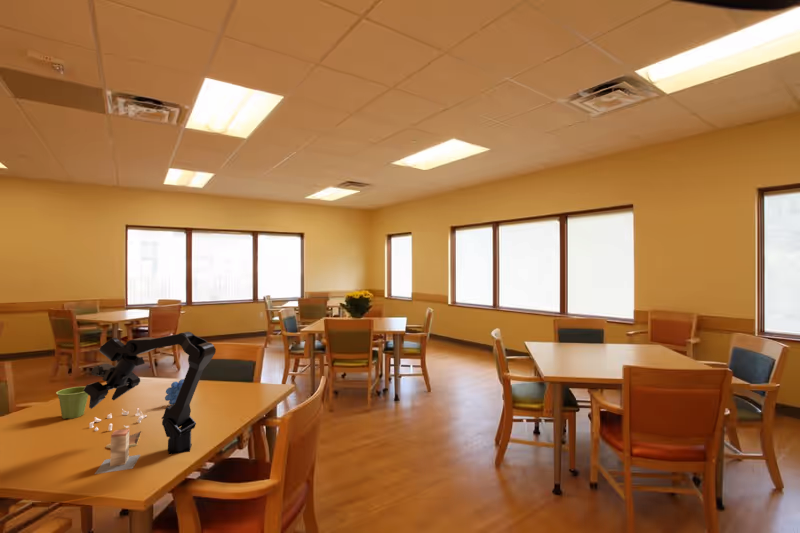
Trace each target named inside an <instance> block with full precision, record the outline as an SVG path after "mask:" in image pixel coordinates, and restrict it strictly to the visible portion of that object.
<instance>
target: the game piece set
mask: <svg viewBox="0 0 800 533" xmlns="http://www.w3.org/2000/svg"><path fill="white" fill-rule="evenodd" d="M121 410H122V412H121V415H123V416H127V415H129V414H130V413H129V412H130V410H127V411H126V410H124V408H121ZM139 410H140V408H139V407H137V408H136V413H134V416H135V417H138V418H137V420H136V422H137V423H139V424H140V423H141V422H142V420H143V419H144V418H147V416H148V415H147V414H143V412H142V410H140V411H139ZM93 418H94V420H93V421H92V422H89V424H88V425H89V427H88V429H92V428H93V429H94V432H98V431H99V428H98V426H96V427H95V426H94V423H95V422H96V423H99V422H101V421H102V419H101V418H98V417H96V416H95V417H93ZM112 418H113V415H112V413H110V414H107V417H106V419H112ZM94 427H95V428H94ZM123 427H124V429H129V428H130V425H123ZM107 430H108V432H111V431H112V430H113V423H109V424H108V428H107Z"/></svg>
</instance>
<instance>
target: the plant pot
mask: <svg viewBox="0 0 800 533" xmlns="http://www.w3.org/2000/svg"><path fill="white" fill-rule="evenodd" d="M85 387H86V386H74V387H68V388H63V389H61V390H58V391H56V392H55V394H56V395H57V397H58V401H59V405H60V406H59V407H60V411H61V412H60V413H61V418H62V419H65V420H66V419H76V418H79V417H81V416H83V415H85V410H86V406H87V402H88V398H89V395H88V394H87V393H86V392H84V391H83V390H84V388H85Z"/></svg>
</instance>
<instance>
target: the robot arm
mask: <svg viewBox="0 0 800 533" xmlns="http://www.w3.org/2000/svg"><path fill="white" fill-rule="evenodd" d="M177 345H180V347H181V348H182V349H183V350H182V351H183V352H184V353H185V354H187V355H188V356H187V362H188V368H187V372H186V374H185V376H184V378H183V379H184V381H183V384H182V386H181V389H180V391H179V394H178V396H177V399H176V402H175V404H173V405H169V406H167V407H166V408H165V409H164V413H163V415H162V417H161V420H162V421H161V425H162V426H163V429H164V432H165V436H166V437H167V438H168V440H167V452H168V455H176V454H183V453H189V452H190V451H191V449H192V444H193V443H192V430H194V429H195V428H196V425H197V423H196V422H197V421H195V419H194V418H193V417H192V416H191V402H192V400H193V397H194V396H195V392H196V390H197V386H198V384H199V383H200V382H199V381H200V380H201V377H202V374H203V371H204V369H205V368H206V367H207V365H208V364H209V363H210V362H211V361H212V359H213V358H214V356H215V354H216V351H217V350H216V347H215V345H214V344H213V343H211V342H210V341H209V342H208V341H207V340H206V339H204V338H202V337H200V336H197V335H195V334H194V333H193V332H190V331H184V332H180V333H177V334H171V335H166V336H161V337H151V336H149V337H139V338H134V339H130V340H128V341H126V343H125V344H124V343H123V342H121V341H120V340H119V339H118V338H117V337H111V338H110V340H108V341H107V342H105V343H104V344H103V345H101V347H100V348H99V353H101V354H102V355H103V356H105V357H106V358H107V359H109V360H110V361H111V362H116V361H117V363H116V364H115V365H113V364H109V363H108V364H107V363H103V364H99V365H95V366H94V367H93V368H92V369H91V376H96V377H101V380H102V381H103V382H106V384H102V383H101V382H100V381H96V382H92V383H89V384H86V385H85V386H84V387H85V388H84V390H83V391H84V392H86V393H87V394H88V396H89V405H88V408H89V409H90V410H92V409H93V408H95V407H96V406H97V405H99V404H100V403H101V402H102V401H103V400H105V399H106V396H107V395H108V393H109V391H111V390H114V389H115V390H114V393H113V394H112V397H111V400H112V401H115V400H117V399H119V398H120V397H121V396H123V395H124V394H126V393H127V392H129V391H130V390H132V389H134V388H135V387H137V386H138V385H139V384H140V383H141V378H140V377H139V376H138V375H136V374H135V372H134V370H135V368H136V367H138V366H142V365H144V364H145V360H144V357H143V356H139V355H142V354H146V353H148V352H151V351H153V350H156V349H160V348H165V347H171V346H177Z"/></svg>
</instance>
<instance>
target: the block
mask: <svg viewBox="0 0 800 533" xmlns="http://www.w3.org/2000/svg"><path fill="white" fill-rule="evenodd" d="M129 436H130V428H124V429H115V430H114V431H113V432H112V434H111V435H110V443H111V448H110V458H109V459H110V466H116V465H123V464H126V462H127V460H128V459H129V456H130V455H129V454H130V450H129V449H130V447H129Z"/></svg>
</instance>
